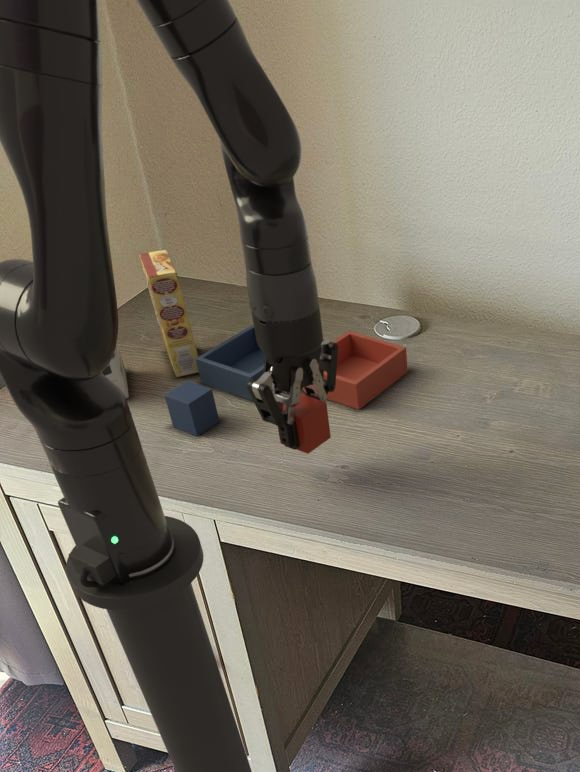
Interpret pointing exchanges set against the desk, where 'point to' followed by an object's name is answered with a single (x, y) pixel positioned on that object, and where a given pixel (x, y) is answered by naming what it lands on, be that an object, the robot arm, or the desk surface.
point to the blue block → (192, 408)
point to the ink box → (117, 372)
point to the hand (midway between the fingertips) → (305, 436)
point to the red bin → (365, 368)
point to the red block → (311, 423)
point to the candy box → (170, 311)
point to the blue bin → (233, 364)
